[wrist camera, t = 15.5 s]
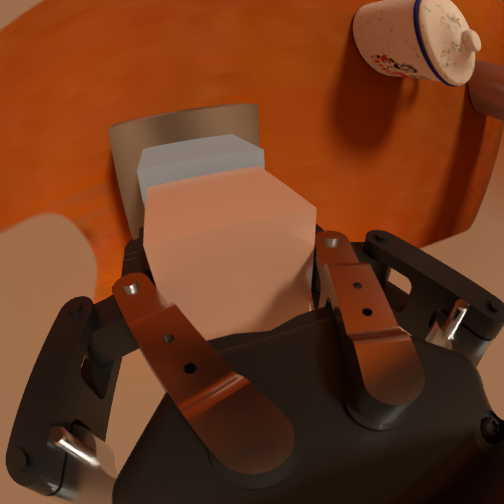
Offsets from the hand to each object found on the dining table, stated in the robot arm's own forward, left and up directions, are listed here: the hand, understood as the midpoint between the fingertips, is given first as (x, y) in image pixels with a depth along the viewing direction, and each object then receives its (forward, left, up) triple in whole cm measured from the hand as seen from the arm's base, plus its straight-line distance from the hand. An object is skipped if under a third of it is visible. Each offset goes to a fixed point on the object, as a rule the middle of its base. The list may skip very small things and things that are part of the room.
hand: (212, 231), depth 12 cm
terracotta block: (0, 0, 0) cm, 0 cm away
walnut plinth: (0, 0, -11) cm, 11 cm away
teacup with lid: (-22, -13, -12) cm, 28 cm away
